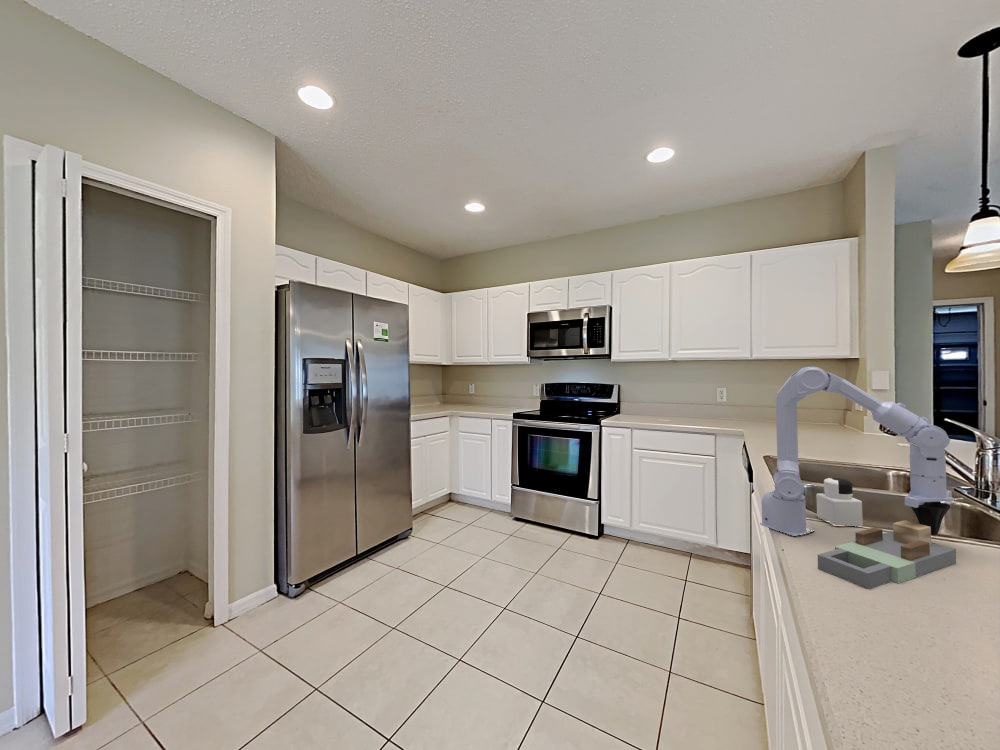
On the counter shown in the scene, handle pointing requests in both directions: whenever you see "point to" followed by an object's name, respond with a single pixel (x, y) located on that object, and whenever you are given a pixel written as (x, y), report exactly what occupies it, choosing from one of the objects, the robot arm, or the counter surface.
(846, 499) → the white stepped box
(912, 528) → the maple block
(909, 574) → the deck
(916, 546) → the brown rectangular blocks
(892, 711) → the counter surface
